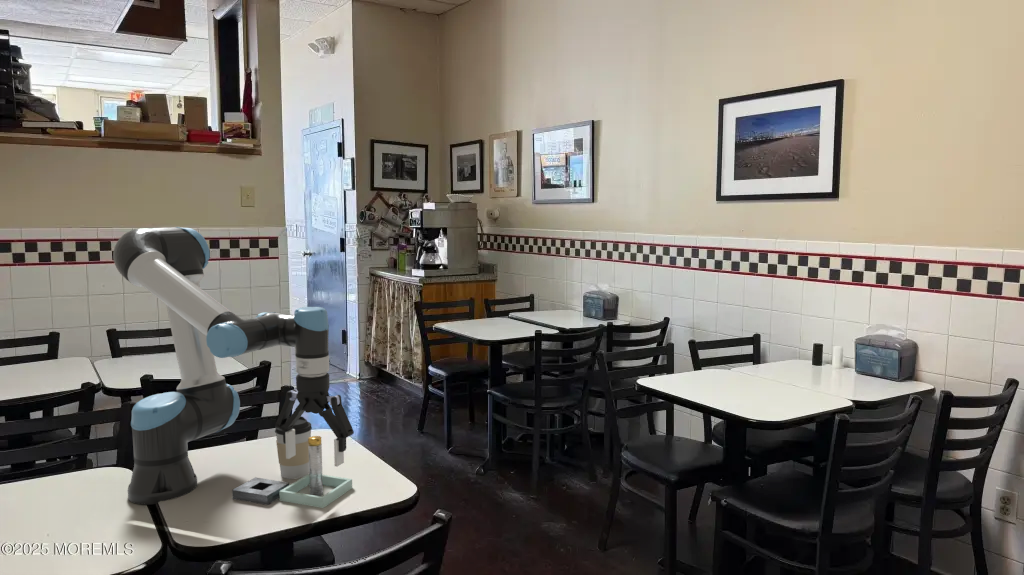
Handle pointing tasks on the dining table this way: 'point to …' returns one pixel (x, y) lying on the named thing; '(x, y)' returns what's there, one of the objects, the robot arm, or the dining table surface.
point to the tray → (292, 496)
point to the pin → (315, 465)
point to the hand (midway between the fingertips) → (314, 460)
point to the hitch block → (259, 491)
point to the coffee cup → (300, 461)
